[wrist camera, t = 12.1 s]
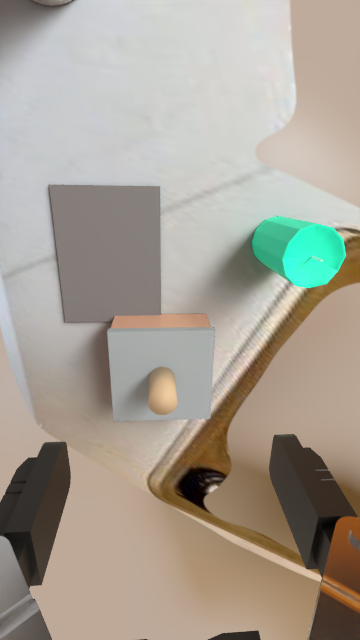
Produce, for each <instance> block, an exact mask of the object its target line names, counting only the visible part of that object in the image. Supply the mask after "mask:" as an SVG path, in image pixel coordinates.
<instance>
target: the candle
mask: <svg viewBox="0 0 360 640" xmlns="http://www.w3.org/2000/svg"><path fill="white" fill-rule="evenodd" d="M252 247H253V252H254V255H255V256H256V257H257V258H258V259H259V260H260V261H261V262H262V263H263V264H264V265H265V266H267V267H268V268H270V269H271V270H273V271H274V272H276V273H277V274H279V275H280V276H282V277H283V278H285V279H286V280H288V281H289V282H291V283H292V284H294V285H295V286H300V287H306V288H311V287H316V286H320V285H324V284H327V283H328V282H329V281H330V280H331V278H332V277H333V276H334V275H335V274H336V273H337V272H338V270H339V268H340V266H341V264H342V262H343V261H344V259H345V257H346V253H345V247H344V241H343V238H342V237H341V236H340V235H339V234H338V233H337V232H336V231H335V229H334V228H333V227H328V226H324V225H320V224H316V223H311V222H306V221H301V220H296V219H291V218H286V217H281V216H276V217H273V218H269V219H266V220H264V221H263V222H262V223H261V225H260V226H259V227H258V228H257V229H256V230H255V233H254V236H253V240H252Z"/></svg>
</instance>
